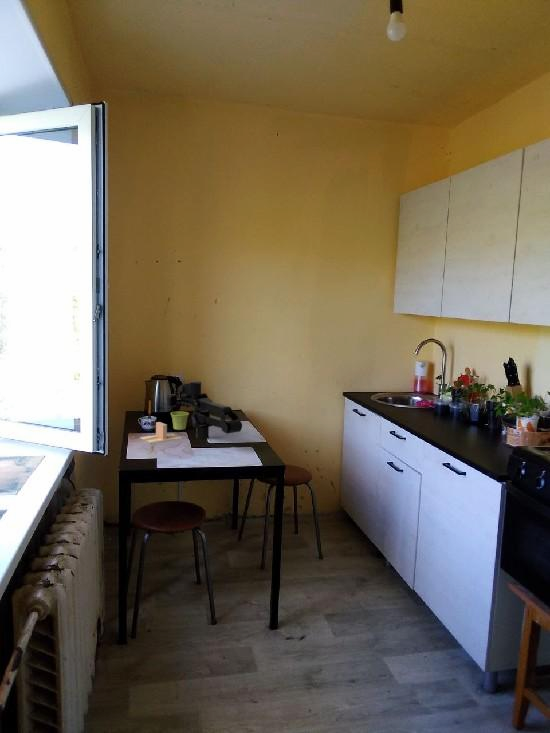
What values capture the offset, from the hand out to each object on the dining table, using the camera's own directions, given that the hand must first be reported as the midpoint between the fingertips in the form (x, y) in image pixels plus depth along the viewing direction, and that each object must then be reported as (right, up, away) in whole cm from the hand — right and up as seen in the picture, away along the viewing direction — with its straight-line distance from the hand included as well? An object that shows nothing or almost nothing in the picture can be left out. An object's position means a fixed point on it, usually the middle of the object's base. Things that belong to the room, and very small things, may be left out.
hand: (175, 397), depth 283 cm
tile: (-3, -18, -20) cm, 27 cm away
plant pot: (+2, -17, 0) cm, 17 cm away
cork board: (-3, -19, -20) cm, 28 cm away
